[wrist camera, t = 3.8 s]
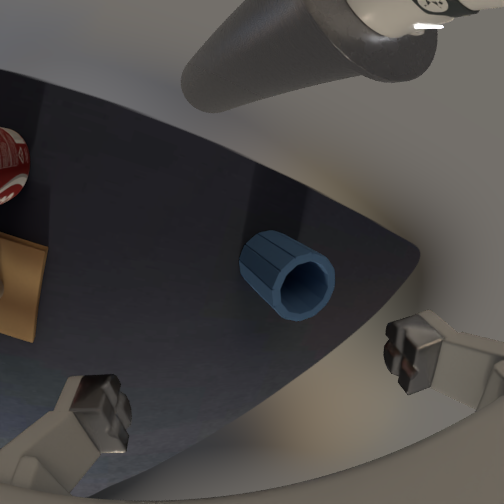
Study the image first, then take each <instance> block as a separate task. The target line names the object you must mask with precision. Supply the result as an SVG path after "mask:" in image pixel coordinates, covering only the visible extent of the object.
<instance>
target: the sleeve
mask: <svg viewBox="0 0 504 504" xmlns="http://www.w3.org/2000/svg"><path fill="white" fill-rule="evenodd" d="M239 259H240V260H239V265H240V273H241V275H242V276H243V278H244V279H245V280H246V281H247V282H248V283H249V284H250V286H251V287H252V288H253V289H254V290H255V291H256V292H257V293H258V294H259V295H260V296H261V297H262V298H263V299H264V300H265V301H266V302H267V303H268V304H269V305H270V306H271V307H272V308H273V309H274V310H275V311H276V312H277V313H278V314H279V315H280V316H281V317H282V318H284V319H288V320H293V321H301V320H304V319H307V318H309V317H312V316H314V315H316V314H317V313H318V312H319V311H320V310H321V309H322V308H323V307H324V306H325V305H326V304H327V303H328V301H329V299H330V297H331V294H332V292H333V290H334V286H335V271H334V268H333V266H332V265H331V263H330V262H329V260H328V258H326V257H325V256H324V255H322V254H320V253H318V252H316V251H314V250H313V249H311V248H309V247H307V246H305V245H303V244H302V243H300V242H298V241H296V240H294V239H292V238H291V237H289V236H287V235H285V234H283V233H280V232H277V231H274V230H269V231H264V232H260V233H258V234H256V235H255V236H253V237H252V238H251V239H250V240H249V241H248V242H247V243H246V245H244V247H243V250H242V252H241V255H240V257H239ZM326 302H327V303H326Z"/></svg>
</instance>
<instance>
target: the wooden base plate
mask: <svg viewBox="0 0 504 504" xmlns="http://www.w3.org/2000/svg"><path fill="white" fill-rule="evenodd" d="M47 252H48V247H46V246H43V245H39V244H36V243H33V242H30V241H27V240H24V239H21V238H18V237H15V236H11V235H8V234H5V233H2V232H0V333H3V334H6V335H9V336H12V337H15V338H18V339H22V340H25V341H28V342H32V343H33V341H34V338H35V333H36V323H37V314H38V306H39V298H40V292H41V285H42V279H43V273H44V268H45V262H46V257H47Z"/></svg>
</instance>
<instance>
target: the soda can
mask: <svg viewBox="0 0 504 504" xmlns="http://www.w3.org/2000/svg"><path fill="white" fill-rule="evenodd" d="M29 171H30V153H29V149H28V146H27V144H26V142H25V141H24V139H23V138H22V137H21V136H20V135H19V134H18V133H17V132H15V131H13V130H11V129H7V128H1V127H0V205H1V204H3V203H5V202H7V201H9V200H10V199H12V198H14V197H15V196H16V195H17V194H18V193H19V192H20V191H21V189H22V188H23V186H24V185H25V183H26V181H27V178H28V175H29Z"/></svg>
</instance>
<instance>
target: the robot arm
mask: <svg viewBox="0 0 504 504" xmlns="http://www.w3.org/2000/svg"><path fill="white" fill-rule="evenodd" d="M346 1H347V3H348V4H349V6H350V7H351V9H352V10H353V11H354V13H355V14H356V15H357V16H358V17H359V18H360V19H361V20H362V21H363V22H364V23H365V24H366V25H367V26H368V27H370V28H371V29H372V30H374V31H375V32H377V33H379V34H381V35H383V36H386V37H390V38H399V37H402V36H404V35H407V34H411V35H415V36H419V35H422V34H424V30H425V29H427V28H443V26H437V25H440V24H443V23H446V22H450V21H452V20H453V19H454V17H461V16H463V17H465V16H470V15H471V14H476V13H478V12H479V11H480V10H484V9H492V8H501V7H504V0H346ZM386 336H387V337H388V338H389V340H388V341H387V343H386V344H385V346H384V360H385V364H386V366H387V368H388V370H389V371H390V372H391V374H394V375H397V376H399V379H398V383H399V384H400V386H401V387H402V388H403V389H404V391H405V392H406V393H407V395H411V394H413V393H416V392H419V391H421V390H424V389H426V388H429V387H431V388H432V389H434V390H436V391H438V392H440V393H442V394H444V395H446V396H448V397H450V398H452V399H454V400H457V401H459V402H461V403H463V404H465V405H467V406H470V407H472V408H474V409H476V411H475V413H473V414H471V415H470V416H468V417H466V418H464V419H463V420H461V421H459V422H457V423H455V424H453V425H451V426H449V427H447V428H445V429H444V430H441V431H440V432H437V433H435V434H433V435H431V436H429V437H427V438H425V439H423V440H421V441H419V442H416V443H414V444H412V445H410V446H407V447H405V448H403V449H400V450H398V451H396V452H393V453H391V454H388V455H386V456H383V457H380V458H378V459H375V460H372V461H370V462H367V463H364V464H361V465H358V466H355V467H352V468H349V469H346V470H343V471H340V472H337V473H333V474H330V475H326V476H323V477H319V478H316V479H312V480H308V481H304V482H300V483H295V484H291V485H287V486H282V487H277V488H272V489H267V490H261V491H256V492H250V493H243V494H237V495H229V496H221V497H212V498H201V499H189V500H169V501H126V500H125V501H123V500H106V499H93V498H83V497H74V496H72V495H71V494H70V492H71V491H72V489H73V488H74V487H75V486H76V485H77V483H78V482H79V481H80V480H81V478H82V477H83V476H84V475H85V473H86V472H87V471H88V470H89V469H90V467H91V466H92V465H93V464H94V462H95V461H96V460H97V459H98V457H99V456H100V455H101V453H120V452H126V451H127V444H128V438H129V435H128V433H127V431H126V429H127V428H128V427H129V426H130V425H131V420H132V413H131V406H130V403H129V400H128V398H127V396H126V395H125V394H124V393H122V392H121V391H120V387H121V383H120V381H119V379H118V377H117V376H116V375H114V374H105V375H85V376H71V377H69V378H68V379H67V381H66V383H65V386H64V388H63V390H62V392H61V395H60V397H59V399H58V402H57V404H56V406H55V409H54V411H49V412H48V413H46V414H45V415H44V416H43V417H41V418H40V419H39V420H37V421H36V422H35V423H34V424H32V425H31V426H30V427H28V428H27V429H26V430H25V431H23V432H22V433H21V434H19V435H18V436H17V437H16V438H14V439H13V440H12V441H10V442H9V443H8V444H7V445H5V446H4V447H3V448H1V449H0V504H504V342H500V341H496V340H492V339H488V338H484V337H480V336H476V335H472V334H468V333H464V332H461V333H458V332H457V331H455V330H454V329H453V328H452V327H450V326H449V325H448V324H447V323H446V322H445V321H443V320H442V319H441V318H440V317H439V316H437V315H436V314H435V313H434V312H433V311H430V310H425V311H423V312H420V313H417V314H415V315H413V316H409V317H406V318H403V319H400V320H396V321H393V322H390V323H388V325H387V327H386Z"/></svg>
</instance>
